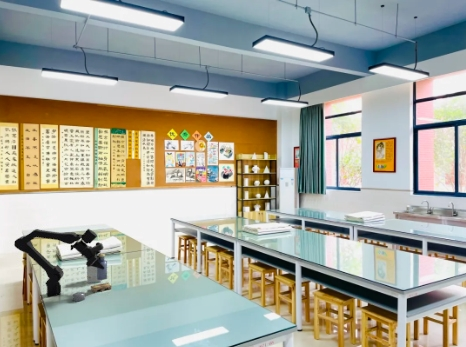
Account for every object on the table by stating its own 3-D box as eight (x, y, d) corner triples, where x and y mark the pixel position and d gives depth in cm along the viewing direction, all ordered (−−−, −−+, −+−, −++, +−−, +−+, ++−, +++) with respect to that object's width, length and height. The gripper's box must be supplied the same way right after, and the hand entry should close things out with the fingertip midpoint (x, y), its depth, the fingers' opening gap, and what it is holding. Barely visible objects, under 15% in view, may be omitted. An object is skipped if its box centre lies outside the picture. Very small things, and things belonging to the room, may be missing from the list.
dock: (93, 292, 199) (93, 289, 199) (90, 289, 204) (90, 286, 204) (111, 289, 204) (111, 285, 204) (108, 285, 210) (108, 282, 210)
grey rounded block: (73, 302, 185) (73, 297, 185) (71, 299, 190) (71, 293, 190) (85, 300, 188) (85, 294, 188) (83, 296, 193) (83, 291, 193)
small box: (103, 278, 223) (102, 258, 223) (100, 282, 217) (100, 261, 217) (90, 279, 222) (89, 259, 222) (86, 282, 216) (86, 262, 216)
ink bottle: (100, 280, 199) (100, 256, 199) (95, 278, 203) (95, 254, 203) (108, 278, 204) (108, 254, 203) (104, 276, 207) (104, 253, 207)
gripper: (92, 242, 193) (113, 261, 196) (96, 235, 211) (116, 253, 214) (77, 257, 191) (98, 276, 194) (82, 249, 209) (102, 266, 212)
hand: (104, 267), depth 204 cm, fingers closed on ink bottle, 5 cm apart
